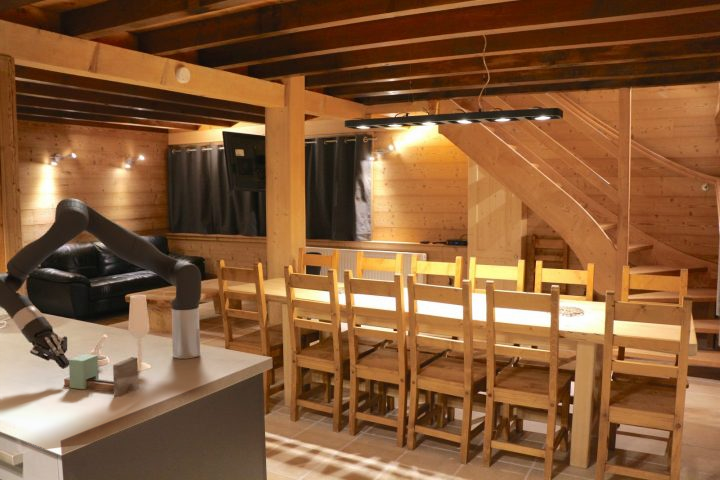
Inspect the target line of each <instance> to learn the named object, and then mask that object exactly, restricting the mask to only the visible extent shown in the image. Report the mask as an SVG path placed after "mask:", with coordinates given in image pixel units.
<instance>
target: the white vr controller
mask: <svg viewBox="0 0 720 480" xmlns="http://www.w3.org/2000/svg"><path fill="white" fill-rule="evenodd" d="M107 339H108V336H107V334H103V335H102V336H101V337H100V339H99V340H98V342H97V343H96V345H95V347H94V348H93V349H92V350H91V352H90V353H89V355H98V367H99V366H100V367H101V366H105V365H107V364H109V363H110V362H111V361H110V359H109V357H108V356H107V355H102V353H101V348H102V346H103V345H104V344H105V342H106V341H107Z"/></svg>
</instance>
